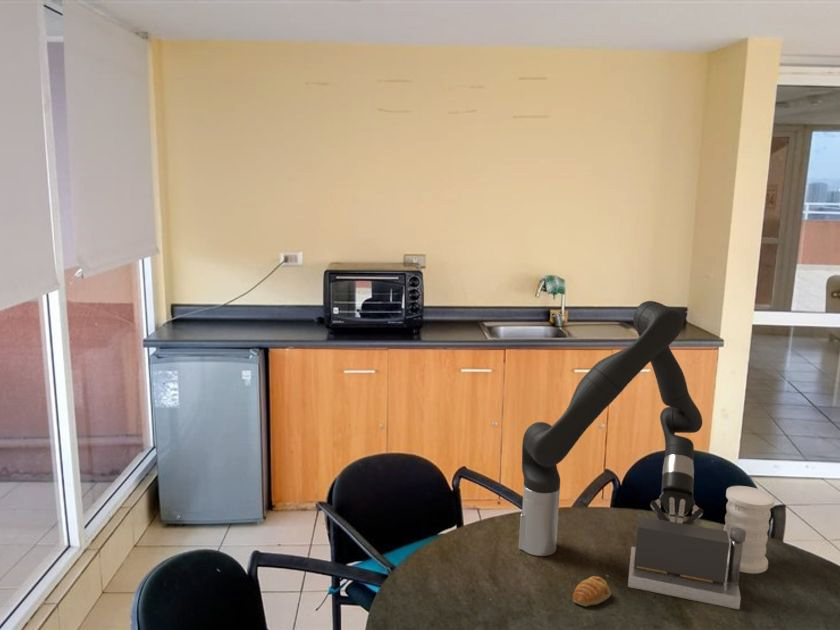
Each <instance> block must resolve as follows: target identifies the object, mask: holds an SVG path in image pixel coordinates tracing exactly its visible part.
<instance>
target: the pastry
mask: <svg viewBox="0 0 840 630" xmlns="http://www.w3.org/2000/svg"><path fill="white" fill-rule="evenodd" d="M610 589H611V588H610V587H609V585H608V582H607V581H606V580H605V579H603V578H602V577H600V576H594V575H592V576H590V577H588V578H587V579H586V578H585V579H584V580H582V581H580V583H578V584H577V586H576V588H575V589H574V592H573V593H572V600H573V603H575V604H577V605H580V606H582V607H590V606H596V605H599V604H600V603H603V602H605V601H606V600H607V599H609V598H610V597H611V595H612V592H611V590H610Z"/></svg>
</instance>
